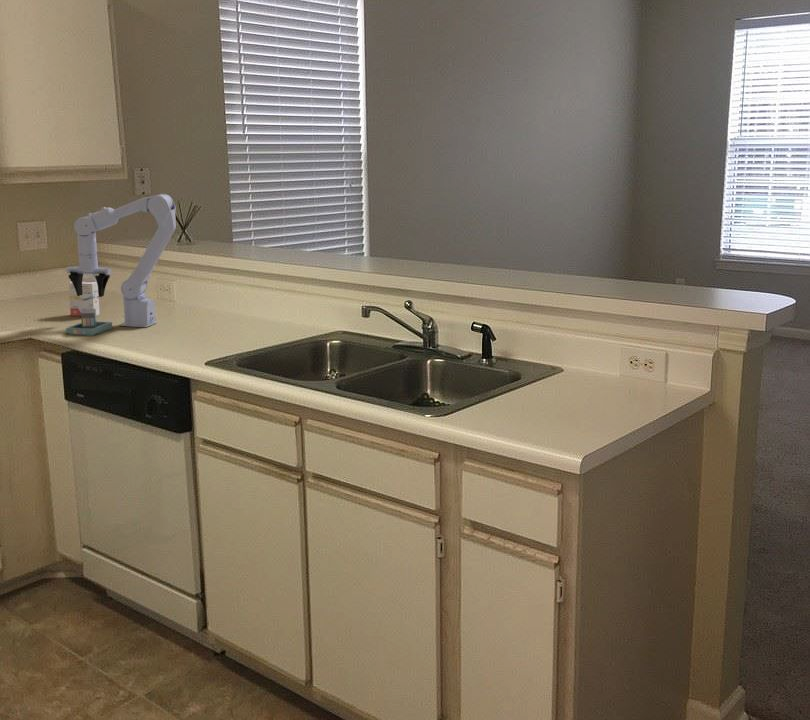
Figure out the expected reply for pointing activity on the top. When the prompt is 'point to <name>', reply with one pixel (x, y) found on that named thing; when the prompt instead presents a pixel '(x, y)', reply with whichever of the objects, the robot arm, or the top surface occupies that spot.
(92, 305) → the ink cartridge box
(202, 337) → the top surface
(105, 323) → the service tray
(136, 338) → the top surface
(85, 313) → the block
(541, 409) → the top surface
